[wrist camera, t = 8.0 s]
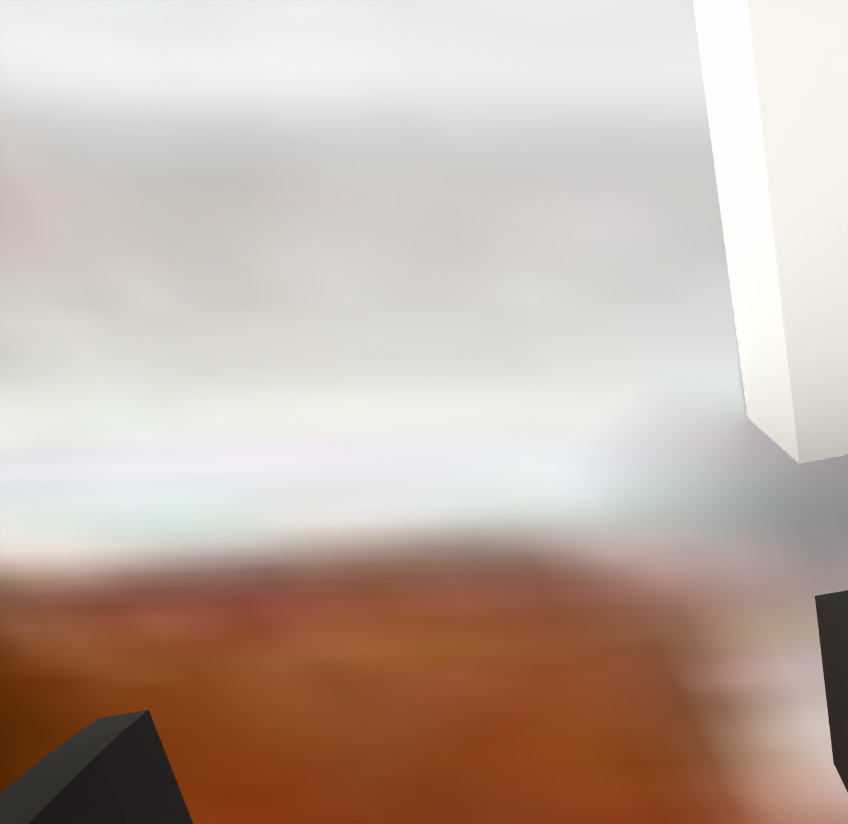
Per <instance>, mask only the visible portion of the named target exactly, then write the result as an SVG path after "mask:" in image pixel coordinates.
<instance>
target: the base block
mask: <svg viewBox="0 0 848 824" xmlns="http://www.w3.org/2000/svg"><path fill="white" fill-rule="evenodd" d="M693 4H694V11H695V19H696V27H697V35H698V42H699V50H700V58H701V65H702V73H703V81H704V89H705V96H706V104H707V112H708V119H709V127H710V135H711V143H712V150H713V158H714V166H715V173H716V181H717V189H718V196H719V204H720V212H721V220H722V227H723V235H724V243H725V250H726V258H727V266H728V274H729V281H730V289H731V297H732V304H733V312H734V320H735V328H736V335H737V343H738V351H739V358H740V366H741V374H742V382H743V389H744V397H745V405H746V412H747V418H748V419H749V420H751V421H752V422H753V423H754V424H755V425H756V426H757V427H758V428H759V429H761V430H762V431H763V432H764V433H765V434H766V435H767V436H768V437H770V438H771V439H772V440H773V441H774V442H775V443H776V444H777V445H778V446H780V447H781V448H782V449H783V450H784V451H785V452H786V453H787V454H788V455H790V456H791V457H792V458H793V459H794V460H795V461H796V462H797V463H798V464H804V463H809V462H814V461H820V460H825V459H830V458H835V457H840V456H846V455H848V0H693Z"/></svg>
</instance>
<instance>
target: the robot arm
mask: <svg viewBox="0 0 848 824" xmlns="http://www.w3.org/2000/svg"><path fill="white" fill-rule="evenodd" d="M815 600H816V609H817V618H818V627H819V636H820V645H821V654H822V663H823V672H824V681H825V690H826V698H827V707H828V716H829V725H830V734H831V743H832V752H833V761H834V765H835V767H836V769H837V771H838V773H839V775H840V777H841V779H842V781H843V783H844V785H845V788H846V790H847V792H848V590H847V591H841V592H836V593H830V594H824V595H818V596H815ZM0 824H193V822H192V820H191V817H190V815H189V812H188V809H187V807H186V804H185V802H184V799H183V797H182V794H181V792H180V789H179V786H178V784H177V781H176V779H175V776H174V774H173V771H172V769H171V766H170V763H169V761H168V758H167V756H166V753H165V751H164V748H163V746H162V743H161V740H160V738H159V735H158V733H157V730H156V728H155V725H154V723H153V720H152V717H151V715H150V712H149V710H146V711H140V712H134V713H128V714H122V715H117V716H111V717H105V718H99V719H97V720H96V721H94V722H93V723H91V724H90V725H88V726H87V727H85V728H84V729H82V730H81V731H79V732H78V733H76V734H75V735H74V736H72V737H71V738H69V739H68V740H67V741H65V742H64V743H63V744H61V745H60V746H59V747H58V748H56V749H55V750H54V751H52V752H51V753H50V754H48V755H47V756H46V757H45V758H43V759H42V760H41V761H39V762H38V763H37V764H36V765H34V766H33V767H32V768H31V769H29V770H28V771H27V772H26V773H24V774H23V775H22V776H21V777H19V778H18V779H17V780H16V781H14V782H13V783H12V784H11V785H9V786H8V787H7V788H6V789H4V790H3V791H2V792H1V793H0Z"/></svg>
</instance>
